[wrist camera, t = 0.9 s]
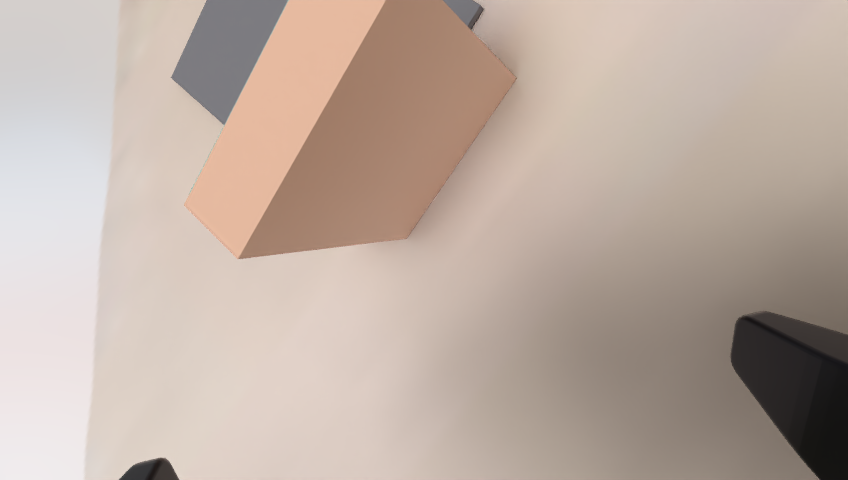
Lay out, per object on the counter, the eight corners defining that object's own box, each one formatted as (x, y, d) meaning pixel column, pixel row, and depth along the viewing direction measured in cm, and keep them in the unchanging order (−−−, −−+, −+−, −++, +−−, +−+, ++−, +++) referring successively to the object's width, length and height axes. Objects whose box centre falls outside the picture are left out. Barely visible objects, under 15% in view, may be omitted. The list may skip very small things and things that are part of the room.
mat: (483, 9, 20) (480, 5, 20) (344, 227, 23) (339, 228, 23) (272, -125, 24) (266, -130, 23) (177, 79, 27) (171, 77, 26)
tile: (516, 78, 20) (407, -38, 10) (406, 238, 22) (237, 259, 13) (468, 46, 20) (325, -89, 11) (366, 204, 23) (179, 200, 13)
